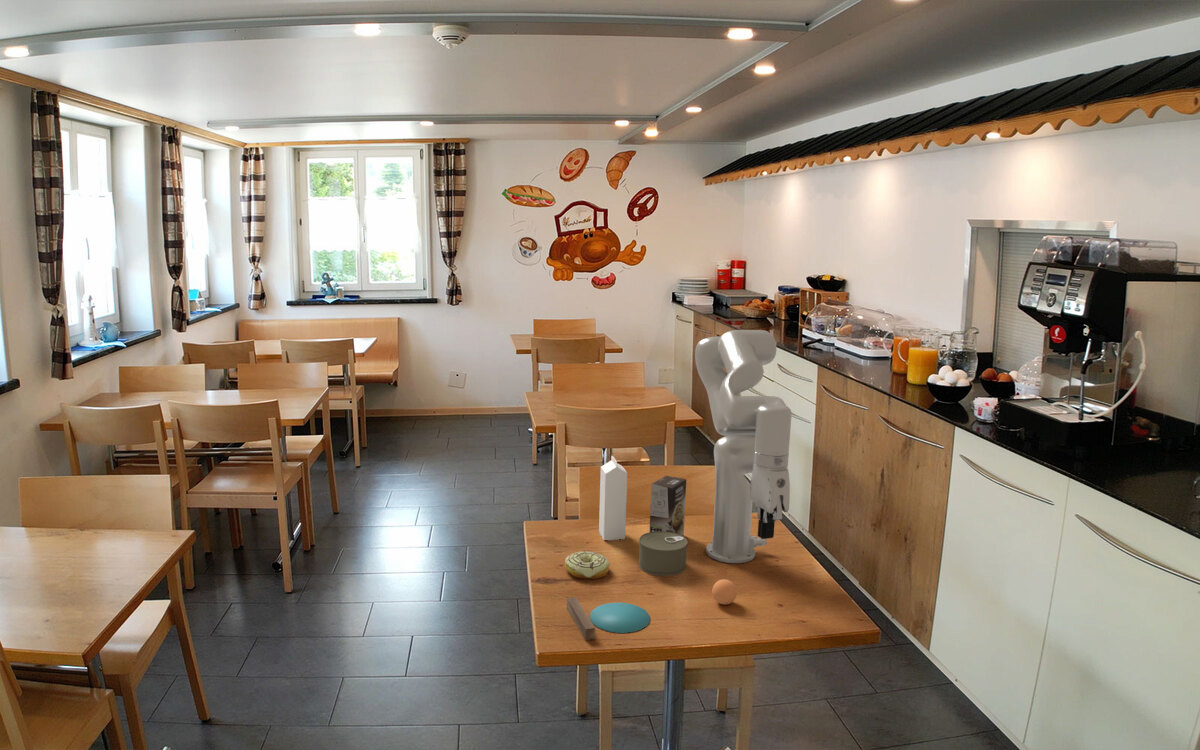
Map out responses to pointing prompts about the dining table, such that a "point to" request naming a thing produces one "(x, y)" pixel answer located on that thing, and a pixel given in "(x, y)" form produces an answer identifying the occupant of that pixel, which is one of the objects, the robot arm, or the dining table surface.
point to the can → (662, 553)
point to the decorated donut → (587, 565)
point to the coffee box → (668, 505)
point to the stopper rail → (580, 618)
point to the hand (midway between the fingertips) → (765, 537)
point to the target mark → (619, 617)
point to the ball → (724, 591)
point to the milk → (612, 501)
